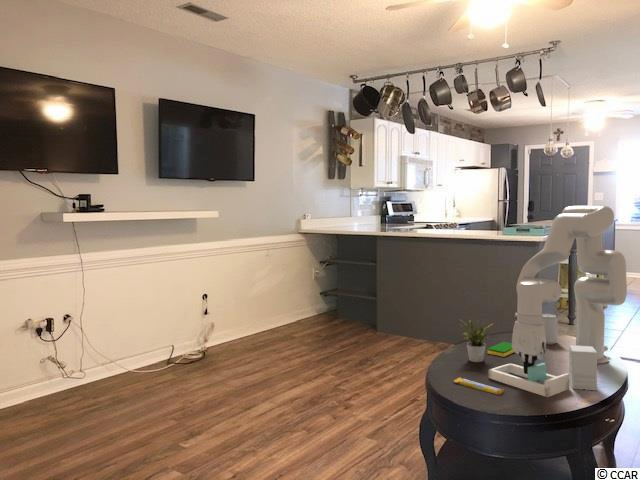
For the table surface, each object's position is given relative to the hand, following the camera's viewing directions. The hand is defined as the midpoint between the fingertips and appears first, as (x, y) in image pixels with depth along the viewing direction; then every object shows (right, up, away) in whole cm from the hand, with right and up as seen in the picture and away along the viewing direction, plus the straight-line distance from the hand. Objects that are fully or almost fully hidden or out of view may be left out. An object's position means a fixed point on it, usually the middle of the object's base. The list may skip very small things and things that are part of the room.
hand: (528, 373), depth 172 cm
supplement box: (+16, -4, -3) cm, 17 cm away
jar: (+8, -3, +13) cm, 16 cm away
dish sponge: (+5, -2, +38) cm, 38 cm away
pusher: (+3, -4, -4) cm, 6 cm away
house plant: (-11, -2, +27) cm, 29 cm away
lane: (0, -4, +1) cm, 4 cm away
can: (+28, 0, +50) cm, 57 cm away
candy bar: (-17, -5, -2) cm, 18 cm away
